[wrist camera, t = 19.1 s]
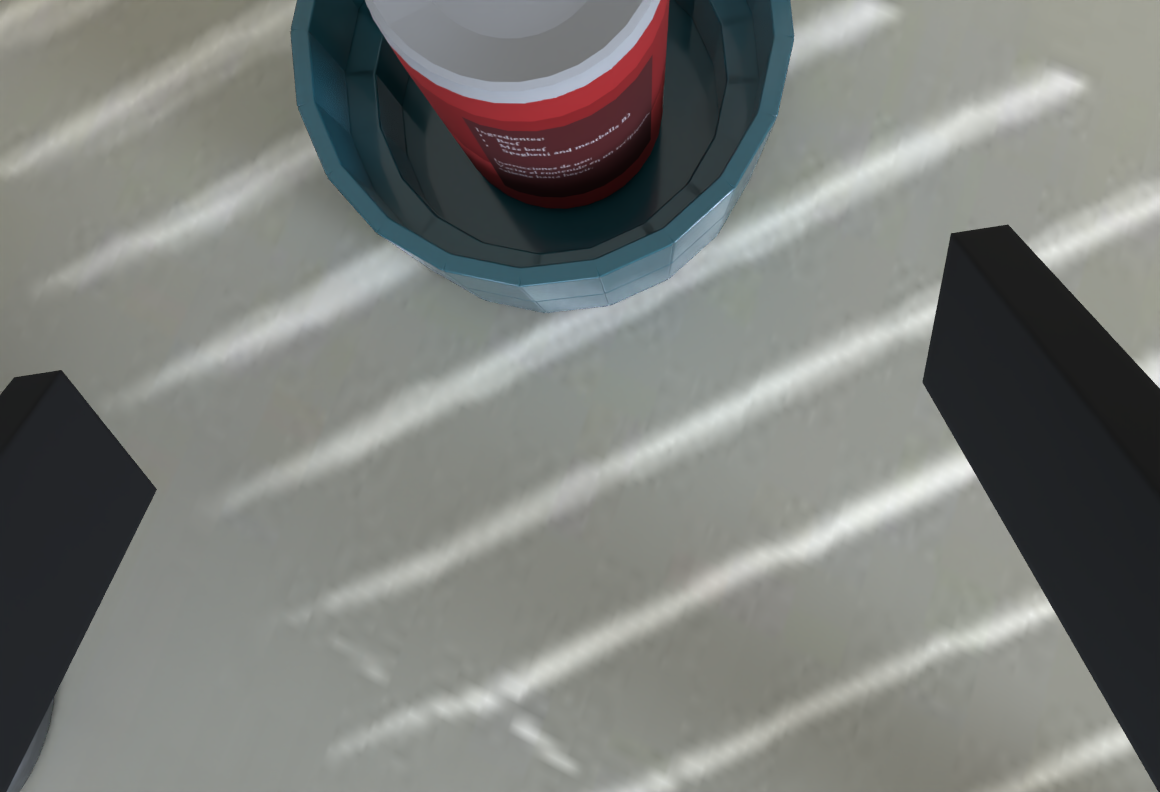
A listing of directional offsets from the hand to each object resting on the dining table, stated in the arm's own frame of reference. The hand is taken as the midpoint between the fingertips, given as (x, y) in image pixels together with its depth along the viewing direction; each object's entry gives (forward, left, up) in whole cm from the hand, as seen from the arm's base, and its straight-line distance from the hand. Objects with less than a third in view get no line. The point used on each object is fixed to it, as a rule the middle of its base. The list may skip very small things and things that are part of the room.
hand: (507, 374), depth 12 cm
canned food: (-3, +10, -17) cm, 20 cm away
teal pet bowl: (-3, +10, -17) cm, 21 cm away
